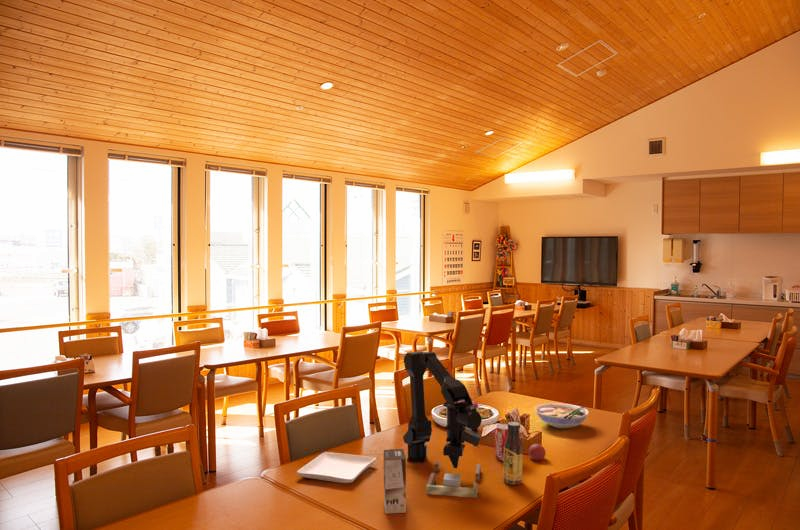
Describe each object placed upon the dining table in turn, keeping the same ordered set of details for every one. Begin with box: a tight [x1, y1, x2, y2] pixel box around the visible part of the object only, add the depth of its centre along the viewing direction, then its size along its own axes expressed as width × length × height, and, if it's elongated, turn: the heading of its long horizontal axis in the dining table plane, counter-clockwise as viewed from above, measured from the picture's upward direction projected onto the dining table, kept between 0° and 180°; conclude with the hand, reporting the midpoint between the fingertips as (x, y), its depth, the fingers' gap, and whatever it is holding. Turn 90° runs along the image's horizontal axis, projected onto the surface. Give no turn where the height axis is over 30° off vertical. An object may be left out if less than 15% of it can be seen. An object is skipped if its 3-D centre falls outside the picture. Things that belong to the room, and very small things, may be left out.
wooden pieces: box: [426, 460, 481, 499], centre depth 191 cm, size 16×22×2 cm
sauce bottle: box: [502, 421, 524, 486], centre depth 190 cm, size 6×6×20 cm
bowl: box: [431, 400, 500, 430], centre depth 259 cm, size 30×30×8 cm
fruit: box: [527, 443, 547, 462], centre depth 212 cm, size 6×6×8 cm
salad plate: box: [296, 451, 377, 484], centre depth 200 cm, size 21×21×3 cm
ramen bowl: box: [534, 402, 590, 430], centre depth 251 cm, size 25×23×8 cm
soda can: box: [494, 423, 508, 462], centre depth 213 cm, size 7×7×12 cm
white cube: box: [442, 473, 462, 487], centre depth 184 cm, size 5×5×4 cm
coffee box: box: [383, 448, 407, 515], centre depth 173 cm, size 9×6×16 cm
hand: (455, 467), depth 193 cm, fingers closed
